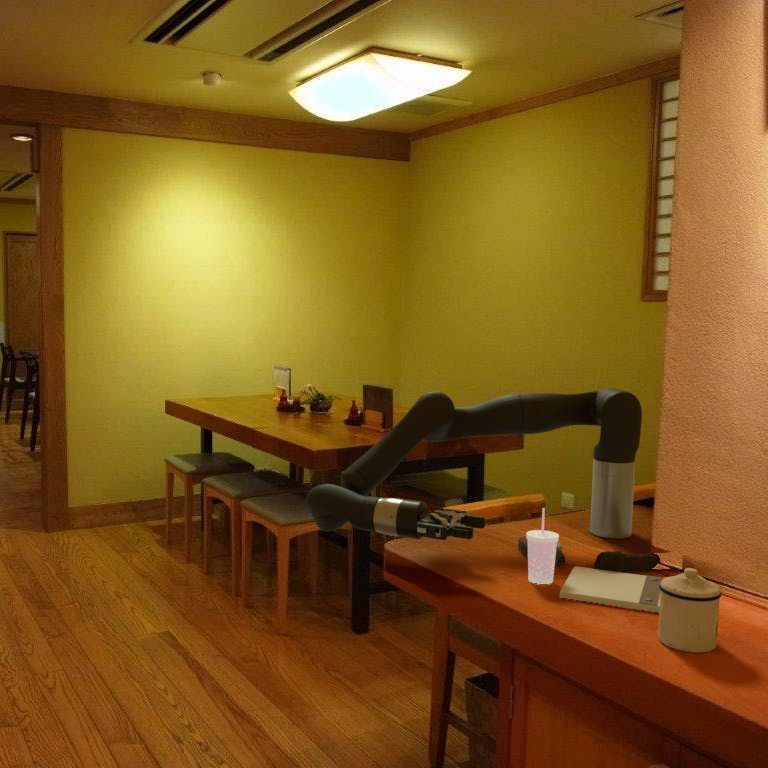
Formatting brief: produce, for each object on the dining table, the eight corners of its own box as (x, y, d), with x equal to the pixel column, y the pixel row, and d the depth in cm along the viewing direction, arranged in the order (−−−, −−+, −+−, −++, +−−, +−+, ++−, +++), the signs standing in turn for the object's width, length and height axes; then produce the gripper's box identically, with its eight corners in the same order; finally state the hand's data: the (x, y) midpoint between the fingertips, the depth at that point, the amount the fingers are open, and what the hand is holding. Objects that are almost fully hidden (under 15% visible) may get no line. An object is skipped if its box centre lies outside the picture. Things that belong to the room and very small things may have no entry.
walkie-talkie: (575, 568, 168) (547, 540, 187) (576, 546, 167) (547, 520, 187) (532, 568, 167) (508, 540, 187) (533, 546, 166) (509, 520, 186)
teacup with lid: (730, 652, 127) (735, 577, 126) (676, 656, 125) (680, 580, 124) (686, 622, 139) (690, 554, 138) (636, 625, 137) (640, 556, 136)
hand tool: (673, 566, 170) (674, 544, 169) (684, 572, 166) (685, 550, 165) (587, 571, 165) (587, 548, 165) (596, 578, 161) (597, 554, 161)
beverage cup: (543, 588, 154) (546, 513, 153) (517, 579, 159) (520, 507, 157) (563, 581, 158) (567, 509, 157) (537, 573, 163) (540, 502, 161)
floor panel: (574, 572, 164) (574, 564, 164) (705, 590, 155) (705, 582, 155) (559, 598, 149) (559, 590, 149) (703, 619, 140) (704, 611, 140)
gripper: (388, 506, 161) (469, 517, 155) (413, 492, 174) (489, 501, 168) (386, 544, 162) (467, 556, 156) (412, 527, 175) (487, 538, 169)
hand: (479, 528), depth 162 cm, fingers open, 8 cm apart
